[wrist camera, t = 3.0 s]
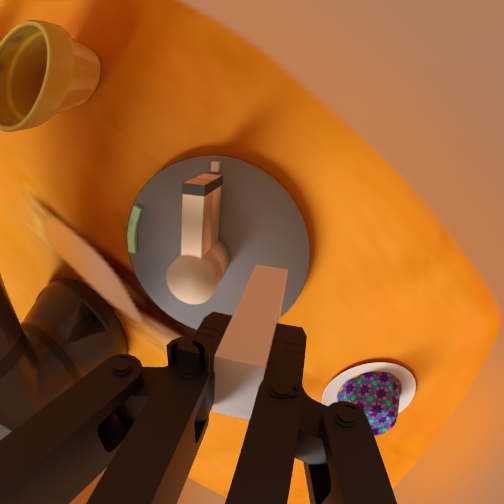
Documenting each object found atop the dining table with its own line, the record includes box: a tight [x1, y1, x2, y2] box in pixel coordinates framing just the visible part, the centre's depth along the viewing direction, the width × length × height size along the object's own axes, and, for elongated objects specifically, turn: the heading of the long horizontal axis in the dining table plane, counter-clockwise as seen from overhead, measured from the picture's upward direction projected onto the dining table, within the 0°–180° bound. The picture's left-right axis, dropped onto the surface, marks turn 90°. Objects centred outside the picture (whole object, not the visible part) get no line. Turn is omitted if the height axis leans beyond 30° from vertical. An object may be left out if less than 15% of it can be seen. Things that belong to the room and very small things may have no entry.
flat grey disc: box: [127, 155, 310, 329], centre depth 30 cm, size 18×18×2 cm
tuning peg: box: [166, 173, 230, 304], centre depth 25 cm, size 10×4×5 cm, turn 174°
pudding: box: [322, 362, 416, 435], centre depth 32 cm, size 12×12×5 cm
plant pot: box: [0, 20, 101, 132], centre depth 22 cm, size 10×10×10 cm
